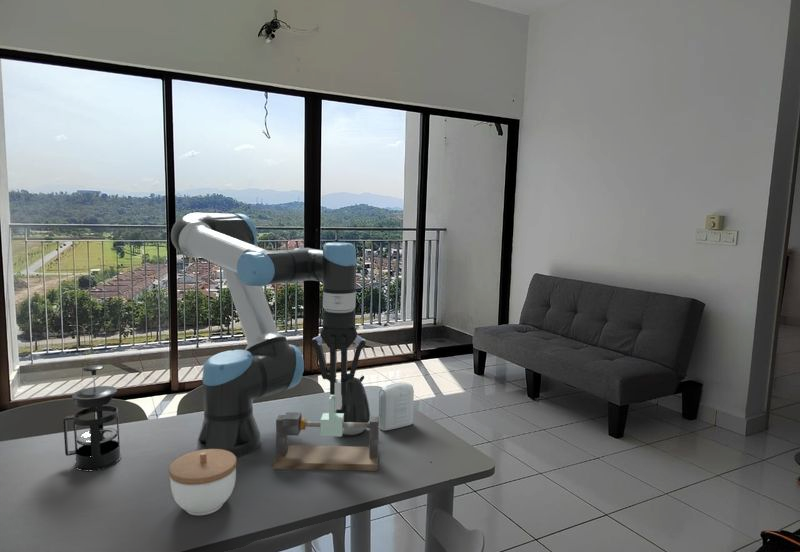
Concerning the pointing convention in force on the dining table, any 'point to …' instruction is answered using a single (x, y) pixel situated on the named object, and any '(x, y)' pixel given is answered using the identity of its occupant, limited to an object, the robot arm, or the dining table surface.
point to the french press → (94, 427)
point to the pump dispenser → (355, 405)
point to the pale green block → (332, 421)
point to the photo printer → (396, 406)
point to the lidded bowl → (203, 480)
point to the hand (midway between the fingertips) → (338, 407)
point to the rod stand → (323, 447)
